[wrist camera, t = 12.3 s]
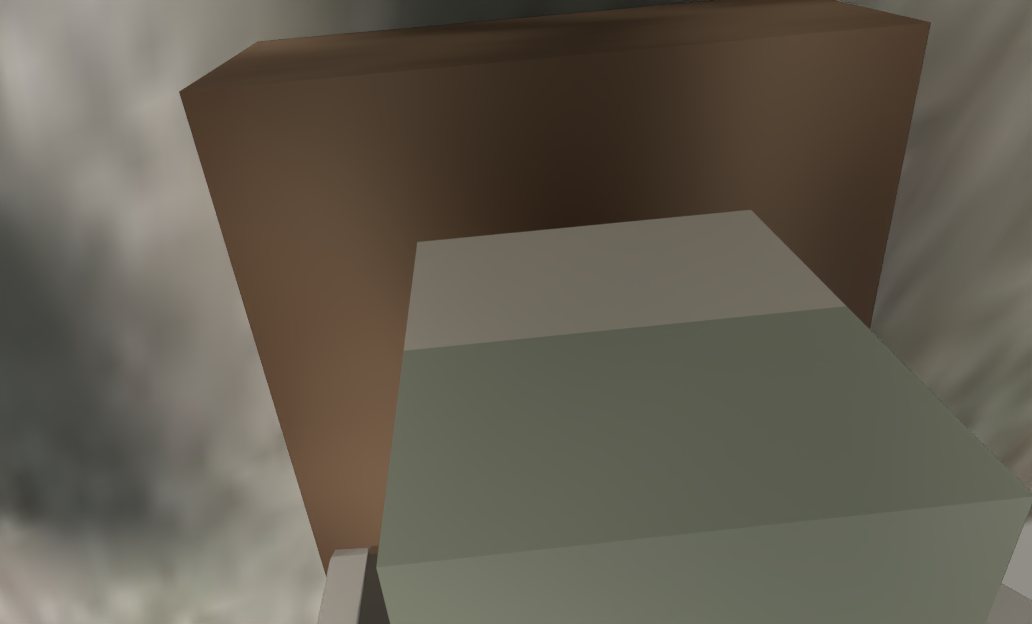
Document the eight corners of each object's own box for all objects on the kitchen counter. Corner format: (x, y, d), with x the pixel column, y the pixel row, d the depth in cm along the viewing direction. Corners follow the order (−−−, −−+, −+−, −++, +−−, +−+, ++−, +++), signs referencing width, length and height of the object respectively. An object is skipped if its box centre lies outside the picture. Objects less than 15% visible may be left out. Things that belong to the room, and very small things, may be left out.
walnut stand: (359, 461, 21) (333, 602, 17) (257, 41, 15) (179, 91, 11) (751, 420, 22) (825, 547, 17) (800, -8, 16) (930, 22, 11)
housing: (417, 242, 10) (375, 568, 5) (751, 209, 11) (1035, 496, 5) (473, 602, 14) (481, 992, 9) (716, 575, 15) (859, 946, 9)
